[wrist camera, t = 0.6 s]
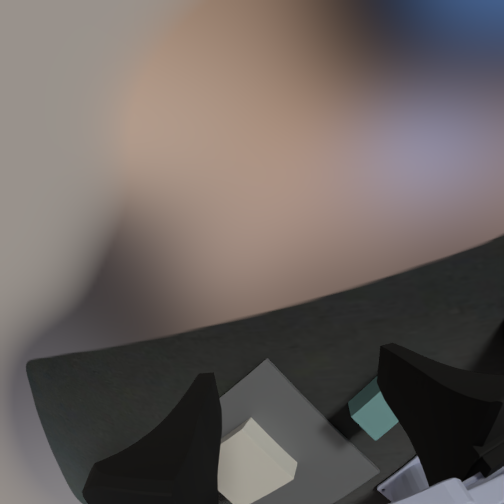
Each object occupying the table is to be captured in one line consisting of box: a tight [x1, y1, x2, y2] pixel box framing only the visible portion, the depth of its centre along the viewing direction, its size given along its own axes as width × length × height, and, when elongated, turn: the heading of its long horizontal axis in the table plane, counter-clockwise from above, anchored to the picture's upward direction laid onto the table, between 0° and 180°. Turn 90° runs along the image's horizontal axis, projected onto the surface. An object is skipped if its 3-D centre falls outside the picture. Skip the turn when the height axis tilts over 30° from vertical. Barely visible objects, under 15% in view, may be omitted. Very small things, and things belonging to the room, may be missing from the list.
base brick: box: [218, 418, 297, 504], centre depth 28 cm, size 8×8×4 cm
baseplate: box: [219, 358, 380, 504], centre depth 30 cm, size 20×16×1 cm
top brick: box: [348, 377, 399, 441], centre depth 27 cm, size 4×8×5 cm, turn 132°
